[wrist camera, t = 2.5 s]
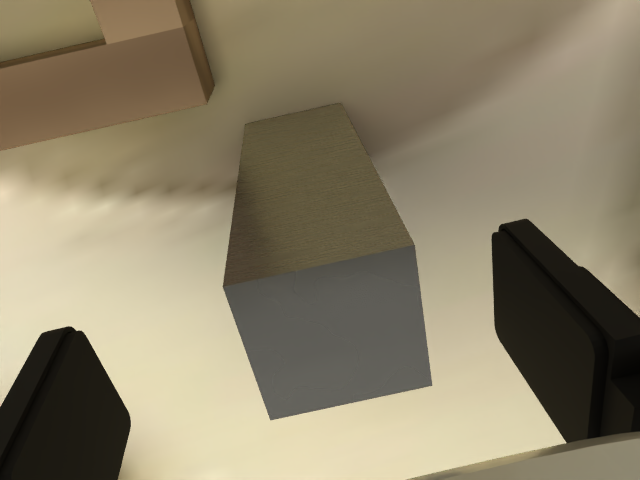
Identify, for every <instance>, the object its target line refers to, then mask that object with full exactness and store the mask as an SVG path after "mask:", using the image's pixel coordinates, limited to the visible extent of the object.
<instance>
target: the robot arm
mask: <svg viewBox="0 0 640 480" xmlns="http://www.w3.org/2000/svg"><path fill="white" fill-rule="evenodd" d="M492 262H493V292H494V321H495V330H496V333H497V336H498V338H499V340H500V342H501V343H502V345H503V346H504V348H505V350H506V351H507V353H508V354H509V356H510V357H511V359H512V360H513V362H514V363H515V365H516V366H517V368H518V369H519V371H520V372H521V374H522V375H523V377H524V379H525V380H526V382H527V383H528V385H529V386H530V388H531V389H532V391H533V392H534V394H535V395H536V397H537V398H538V400H539V401H540V403H541V404H542V406H543V408H544V409H545V411H546V412H547V414H548V415H549V417H550V418H551V420H552V421H553V423H554V424H555V426H556V427H557V429H558V430H559V432H560V433H561V435H562V436H563V438H564V440H565V441H566V444H561V445H556V446H552V447H547V448H542V449H538V450H533V451H529V452H524V453H519V454H515V455H510V456H506V457H501V458H497V459H492V460H488V461H484V462H479V463H475V464H471V465H467V466H462V467H458V468H454V469H450V470H445V471H441V472H437V473H432V474H428V475H424V476H420V477H415V478H411V479H407V480H640V318H639V317H638V316H637V315H636V314H635V313H634V312H633V311H632V310H631V309H629V308H628V307H627V306H626V305H625V304H624V303H623V302H622V301H621V300H620V299H619V298H617V297H616V296H615V295H614V294H613V293H612V292H611V291H610V290H609V289H608V288H607V287H606V286H604V285H603V284H602V283H601V282H600V281H599V280H598V279H597V278H596V277H595V276H594V275H592V274H591V273H590V272H589V271H588V270H587V269H585V268H584V267H580V266H578V265H576V264H575V263H574V262H573V261H572V260H571V259H570V258H569V257H568V256H567V255H566V254H565V253H564V252H563V251H562V250H560V249H559V248H558V247H557V246H556V245H555V244H554V243H553V242H552V241H551V240H550V239H549V238H548V237H547V236H545V235H544V234H543V233H542V232H541V231H540V230H539V229H538V228H537V227H536V226H535V225H534V224H533V223H532V222H530V221H529V220H528V219H522V220H518V221H513V222H509V223H505V224H501V225H500V226H499V230H498V232H495V233H493V234H492ZM130 427H131V420H130V415H129V412H128V410H127V409H126V407H125V405H124V403H123V401H122V400H121V398H120V396H119V394H118V392H117V391H116V389H115V387H114V385H113V383H112V382H111V380H110V378H109V376H108V375H107V373H106V371H105V369H104V367H103V366H102V364H101V362H100V360H99V358H98V357H97V355H96V353H95V351H94V349H93V348H92V346H91V344H90V342H89V340H88V339H87V337H86V335H85V334H84V333H83V332H82V331H76V330H75V329H74V328H73V327H69V326H68V327H64V328H60V329H56V330H51V331H47V332H44V333H42V334H41V335H40V337H39V338H38V340H37V342H36V344H35V346H34V347H33V349H32V351H31V353H30V355H29V356H28V358H27V360H26V362H25V364H24V365H23V367H22V369H21V371H20V373H19V374H18V376H17V378H16V380H15V382H14V384H13V385H12V387H11V389H10V391H9V393H8V394H7V396H6V398H5V400H4V402H3V403H2V405H1V407H0V480H118V476H119V472H120V468H121V464H122V460H123V456H124V452H125V448H126V444H127V440H128V436H129V432H130Z"/></svg>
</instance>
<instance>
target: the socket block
mask: <svg viewBox="0 0 640 480" xmlns="http://www.w3.org/2000/svg"><path fill="white" fill-rule="evenodd" d="M90 2H91V4H92V7H93V9H94V12H95V15H96V17H97V20H98V22H99V25H100V28H101V30H102V33H103V35H104V38H105V39H101V40H97V41H92V42H88V43H83V44H79V45H75V46H70V47H66V48H62V49H57V50H53V51H48V52H44V53H40V54H35V55H31V56H27V57H22V58H18V59H14V60H9V61H5V62H0V151H1V150H6V149H10V148H15V147H19V146H24V145H28V144H32V143H37V142H41V141H46V140H50V139H55V138H59V137H63V136H68V135H72V134H77V133H81V132H86V131H90V130H94V129H99V128H103V127H108V126H112V125H117V124H121V123H125V122H130V121H134V120H139V119H143V118H148V117H152V116H156V115H161V114H165V113H170V112H174V111H179V110H183V109H187V108H192V107H196V106H201V105H205V104H207V103H208V100H209V98H210V96H211V93H212V91H213V89H214V86H215V84H214V81H213V78H212V74H211V71H210V68H209V64H208V61H207V57H206V54H205V51H204V47H203V44H202V40H201V37H200V34H199V30H198V27H197V24H196V20H195V17H194V13H193V10H192V7H191V3H190V0H90Z"/></svg>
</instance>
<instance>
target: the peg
mask: <svg viewBox="0 0 640 480" xmlns="http://www.w3.org/2000/svg"><path fill="white" fill-rule="evenodd" d="M223 289H224V291H225V294H226V297H227V300H228V303H229V305H230V308H231V311H232V314H233V317H234V319H235V322H236V325H237V328H238V331H239V333H240V336H241V339H242V342H243V345H244V347H245V350H246V353H247V356H248V359H249V361H250V364H251V367H252V370H253V373H254V375H255V378H256V381H257V384H258V387H259V390H260V392H261V395H262V398H263V401H264V404H265V406H266V409H267V412H268V415H269V418H270V420H274V419H279V418H283V417H288V416H293V415H297V414H302V413H307V412H311V411H316V410H321V409H325V408H330V407H335V406H339V405H344V404H349V403H353V402H358V401H363V400H367V399H372V398H377V397H381V396H386V395H391V394H395V393H400V392H405V391H409V390H414V389H419V388H423V387H428V386H432V380H431V372H430V364H429V356H428V348H427V340H426V332H425V324H424V316H423V308H422V300H421V292H420V284H419V276H418V268H417V261H416V253H415V245H414V243H413V241H412V239H411V237H410V235H409V233H408V231H407V229H406V227H405V226H404V224H403V222H402V220H401V218H400V216H399V214H398V212H397V210H396V208H395V206H394V204H393V202H392V201H391V199H390V197H389V195H388V193H387V191H386V189H385V187H384V185H383V183H382V181H381V179H380V177H379V175H378V174H377V172H376V170H375V168H374V166H373V164H372V162H371V160H370V158H369V156H368V154H367V152H366V150H365V149H364V147H363V145H362V143H361V141H360V139H359V137H358V135H357V133H356V131H355V129H354V127H353V125H352V124H351V122H350V120H349V118H348V116H347V114H346V112H345V110H344V108H343V106H342V104H341V103H337V104H333V105H328V106H324V107H319V108H315V109H310V110H306V111H301V112H297V113H293V114H288V115H284V116H279V117H275V118H270V119H266V120H261V121H257V122H252V123H248V124H245V130H244V137H243V145H242V152H241V159H240V166H239V174H238V181H237V188H236V195H235V203H234V210H233V217H232V225H231V232H230V239H229V246H228V254H227V261H226V268H225V275H224V283H223Z"/></svg>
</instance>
